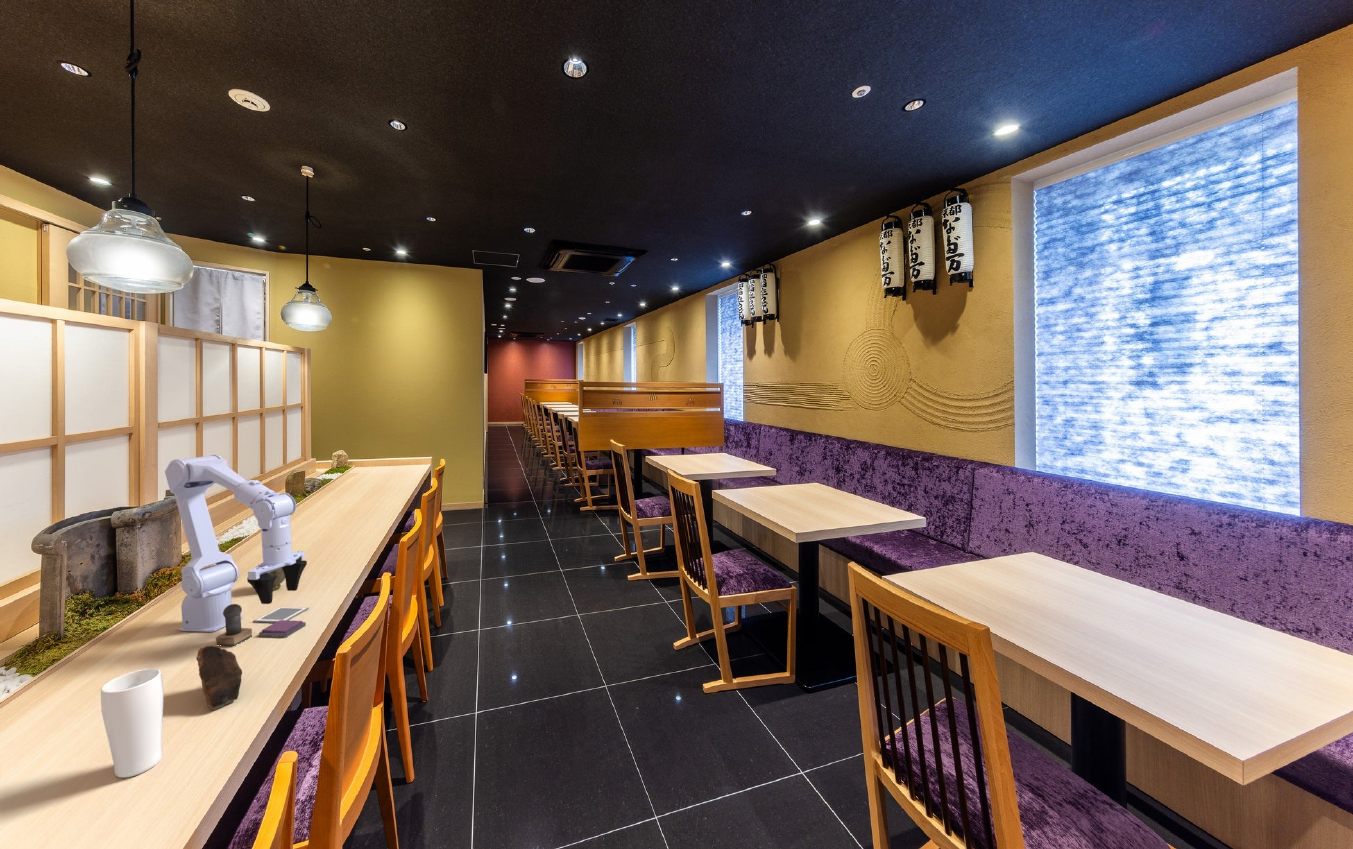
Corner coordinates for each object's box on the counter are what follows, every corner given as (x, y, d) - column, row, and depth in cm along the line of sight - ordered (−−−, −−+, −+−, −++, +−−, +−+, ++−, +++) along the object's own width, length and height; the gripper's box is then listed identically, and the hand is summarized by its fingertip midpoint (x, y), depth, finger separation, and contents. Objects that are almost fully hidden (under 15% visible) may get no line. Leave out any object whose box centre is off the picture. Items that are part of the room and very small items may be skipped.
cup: (270, 595, 147) (269, 569, 146) (250, 593, 148) (249, 567, 147) (294, 585, 154) (293, 560, 153) (275, 583, 155) (274, 558, 155)
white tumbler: (163, 745, 86) (157, 663, 85) (173, 763, 82) (166, 676, 81) (104, 770, 80) (96, 682, 79) (111, 790, 76) (103, 698, 75)
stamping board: (252, 622, 130) (252, 620, 130) (280, 608, 138) (280, 606, 138) (283, 623, 130) (283, 621, 130) (308, 608, 138) (308, 607, 138)
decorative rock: (196, 690, 101) (192, 640, 100) (235, 677, 106) (232, 629, 105) (204, 716, 93) (200, 662, 93) (246, 701, 98) (243, 649, 97)
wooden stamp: (216, 646, 118) (213, 608, 118) (234, 636, 123) (232, 600, 122) (234, 646, 118) (232, 609, 117) (252, 636, 123) (249, 600, 122)
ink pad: (259, 636, 123) (258, 630, 123) (279, 624, 129) (279, 619, 129) (286, 637, 123) (285, 631, 122) (305, 625, 128) (305, 620, 128)
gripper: (266, 554, 115) (270, 610, 116) (315, 535, 130) (317, 585, 131) (238, 553, 115) (241, 609, 117) (289, 534, 130) (291, 584, 131)
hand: (279, 596), depth 124 cm, fingers open, 7 cm apart
